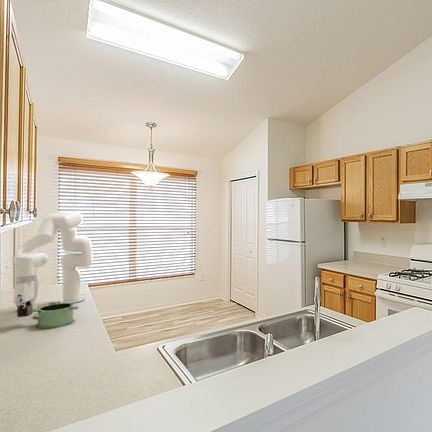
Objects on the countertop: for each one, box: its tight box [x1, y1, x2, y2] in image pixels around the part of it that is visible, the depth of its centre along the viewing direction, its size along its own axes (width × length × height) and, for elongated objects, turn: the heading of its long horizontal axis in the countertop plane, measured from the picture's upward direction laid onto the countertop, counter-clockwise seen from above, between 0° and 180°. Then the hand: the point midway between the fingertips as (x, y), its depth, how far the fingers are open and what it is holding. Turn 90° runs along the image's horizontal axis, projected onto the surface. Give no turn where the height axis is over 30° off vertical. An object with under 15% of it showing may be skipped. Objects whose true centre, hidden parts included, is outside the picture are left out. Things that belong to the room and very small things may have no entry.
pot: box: [32, 302, 80, 329], centre depth 165 cm, size 15×20×8 cm
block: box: [16, 305, 34, 318], centre depth 162 cm, size 5×5×5 cm
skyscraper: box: [20, 267, 39, 310], centre depth 189 cm, size 8×8×28 cm
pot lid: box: [34, 301, 57, 319], centre depth 180 cm, size 16×16×7 cm
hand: (25, 314), depth 162 cm, fingers closed on block, 4 cm apart
